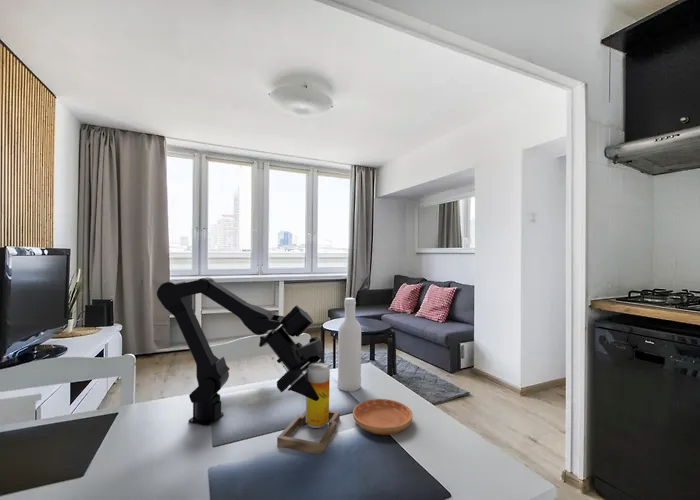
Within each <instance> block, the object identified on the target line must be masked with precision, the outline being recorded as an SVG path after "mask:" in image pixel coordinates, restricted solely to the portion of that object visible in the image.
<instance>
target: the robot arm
mask: <svg viewBox="0 0 700 500" xmlns="http://www.w3.org/2000/svg"><path fill="white" fill-rule="evenodd" d="M196 294H197V295H198V294H202V295H204V296H205V297H207V298H209V300H212V301H213V302H215V303H216V304H218V305H219V306H221V307H223V308H224V309H225V310H227V311H229V312H230V313H232V314H233V315H235V316H236V317H237V318H239V320H240V321H241V322H242V324H243V325H244V326H245V327H246V328H247V329H248V330H249V331H250V333H252V334H254V335H257V336H260V337H259V344H258V346H259V347H260V348H262V347H265V346H267V345H268V346H269V347H270V348H271V350H272V351H273V353H274V354H275V355H276V356H277V359H276V362H277V363H278V364H281V363H282V364H283V366H285V368H286V369H287V372H285V373H284V374H283V375H282V376H281V377H280V378H279V379H278V380H277V381H276V388H277V389H278V390H279V392H280V393H283V392H285V390H287V391H289V392H290V391H292V392H295V393H297V394H299V395H301V396H303V397H305V398H306V397H308V398H310V399H312V400H314V401H317V400H318V399H319V397H318V395H317V393H316V391H315V390H314V388H313V387H312V385H311V384H310V382H309V381H308V372H307V368H308V366H309V365H310V364H312V363H323V360H322V359H323V357H324V356H325V355H324V353H323V352H324V348H323V345H324V342H323V341H322V340H321V338H319V337H318V336H317V335H316V336H313V337H310V339H309V341H308V343H306V344H304V345H303V344H302V343H301V342H297V343H296V342H295V341H294V340H293V337H298V338H299V337H300V336H301V335H302V334H303V333H304V332H305V331H306V330H307V329H309V327H310V326H312V325H313V324H314V320H313V318H312V317H311V315H309V312H307V311H305V310H303V309H302V308H301V307H299V305H297V304H296V305H295V306H294V307H292V309H291V310H290V311H289V312H288V313H287V314H286V315H285V316H284V315H278V314H274V313H273V312H272V311H270V310H268V309H266V308H263V307H261V306H259V305H254V304H251V303H249V302H247V301H246V300H244V299H243V298H241V297H239V296H238V295H236V294H235V293H234V292H231V291H230V290H228V289H227V288H226V287H224V286H222V285H221V284H219V283H217V282H216V281H215V280H214V279H213V278H212V277H209V276H208V277H202V278H199V279H197V280H192V281H184V280H181V279H180V280H179V279H177V280H171V281H167V282H166V281H165V282H164V283H162V284H161V285H160V286H159V287H158V289H157V290H156V297H157V299H158V300H159V302H160V303H161V305H162V306H163V308H164V309H165V310H166V311H167V312H169V313H170V314H171V315H172V316H173V317H174V319H175V321H176V323H177V325H178V328H179V329H180V331H181V334H182V336H183V339H184V340H185V343H186V344H187V347H188V348H189V352H190V354H191V356H192V358H193V360H194V363H195V366H196V372H195V373H196V374H195V376H196V381H197V385H198V386H197V387H196V388H195V389H194V390H192V392H191V393H189V395H188V397H189V399H190V402H191V403H192V417H191V418H189V419H188V423H191V424H197V425H202V426H210V425H211V424H213V423H214V422H216V421H217V420H219V419H221V418H222V416H224V415H225V414H224V412H223V411H222V400H221V394H219V391H220V390H222V388H223V386H224V385H225V384H226V383H227V382H228V380H229V378H230V372H229V371H230V367H228V365H227V362H226V359H225V357H224V356H222V357H221V358H218V357H217V356H215V354H214V353H213V350H212V349H211V346H210V344H209V342H208V340H207V337H206V335H205V332H204V331H203V329H202V327H201V325H200V323H199V320H198V318H197V315H196V313H195V311H194V309H193V295H196ZM269 331H270V332H269ZM268 332H269V333H268ZM264 334H266V335H264ZM261 335H262V336H261ZM304 372H305V373H304ZM289 386H290V387H289ZM288 387H289V388H288Z"/></svg>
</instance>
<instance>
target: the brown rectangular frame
mask: <svg viewBox="0 0 700 500" xmlns="http://www.w3.org/2000/svg"><path fill="white" fill-rule="evenodd" d="M340 413H341V412H340V411H337V410H330V409H329V421H328V422H327V423H328V428H327V430H326V431H325V432H324V434H323V435H322V437H321V438H320V439H319V441H318V442H317V441H312V440H306V439H301V438H297V437H291V436H292V435H293V433H294V432H295V431H296V430H297V429H298V428H299V426H304V425H305V424H306V410H304V412H302V414H301V415H298V414H297V415H296V416H295V417H294V419H293V420H292V421H290V423H289V424H288V426H286V427H285V428H284V430H283V431H281V432H280V434H279V435H278V436H276V439H277V440H276V441H277V442H276V446H277V447H279V448H284V449H289V450H294V451H295V450H296V451H299V452H304V453H309V454H315V455H323V453H324V450H325V449H326V448H327V446H328V445H329V443H330V441H331V440H332V438H333V436H334V435H335V433H336V432H337V429H338V426H337V425H338V422H339V421H340V420H341V419H340V418H341V417H340Z"/></svg>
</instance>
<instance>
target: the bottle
mask: <svg viewBox="0 0 700 500" xmlns="http://www.w3.org/2000/svg"><path fill="white" fill-rule="evenodd" d="M356 305H357V302H356V298H354V297H345V298H344V319H343V320H342V321H341V322H340V324H339V327H338V330H337V331H338V336H337V340H338V341H337V342H338V345H337V346H338V347H337V348H338V350H337V362H338V363H337V388H338V387H339V388H340V389H341V390H340V389H339V388H338V389H339V390H340V391H343V390H344V391H343V392H347V391H352V392H356V391H355V390H357V391H359V390H360V389H361V388H360V387H361V385H362V326H361V324H360V322H359V321H358V320H357V319H356ZM359 388H360V389H359ZM358 389H359V390H358Z"/></svg>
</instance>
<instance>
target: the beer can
mask: <svg viewBox="0 0 700 500" xmlns="http://www.w3.org/2000/svg"><path fill="white" fill-rule="evenodd" d="M330 370H331V369H330V367H329V364H327V363H324V362H321V363H312V364H310V365H309V366H308V368H307V372H308V381H309V382H310V384H311V385H312V387H313V388H314V390H315V391H316V393H317V395H318V397H319V399H318V400H317V401H314V400H312V399H310V398H308V397H306V396H305V411H306V422H305V424H307V425H308V426H309V428H312V429H313V428H314V429H318V428H319V429H320V428H321V429H322V428H323V427H325V426H326V425H327V423H329V421H330V420H329V410H330V381H331V380H330V378H331V377H330V373H331V371H330Z"/></svg>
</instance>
